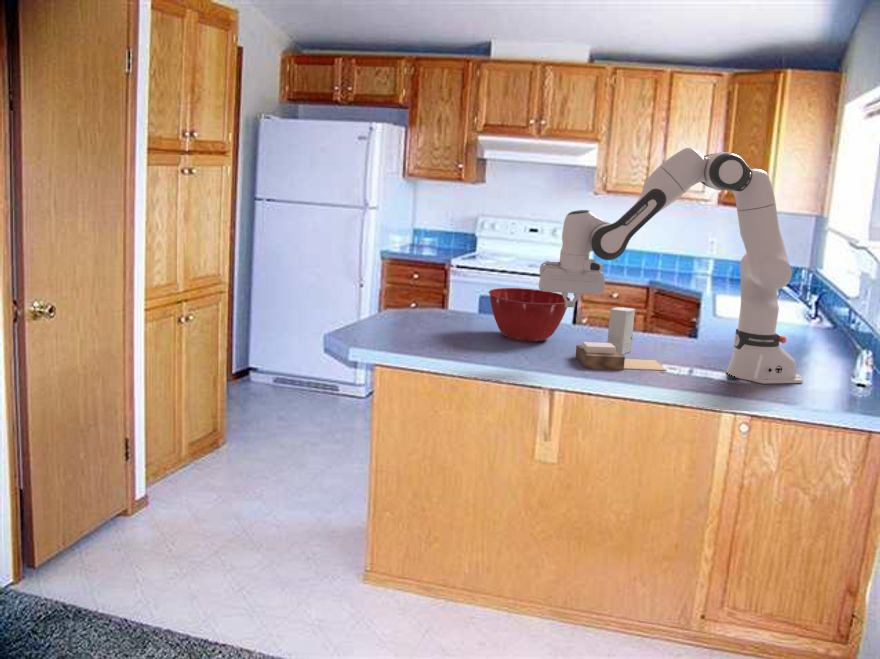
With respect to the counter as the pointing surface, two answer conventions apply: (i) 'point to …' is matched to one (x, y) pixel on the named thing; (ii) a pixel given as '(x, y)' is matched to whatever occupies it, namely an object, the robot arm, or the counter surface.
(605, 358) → the brown box
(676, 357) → the counter surface
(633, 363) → the mat
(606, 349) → the white rectangular prism
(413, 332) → the counter surface
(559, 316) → the mixing bowl
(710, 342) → the counter surface
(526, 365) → the counter surface
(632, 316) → the skincare box
